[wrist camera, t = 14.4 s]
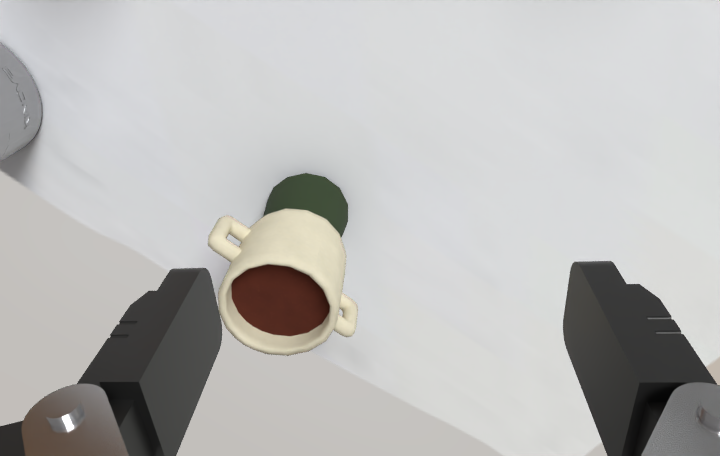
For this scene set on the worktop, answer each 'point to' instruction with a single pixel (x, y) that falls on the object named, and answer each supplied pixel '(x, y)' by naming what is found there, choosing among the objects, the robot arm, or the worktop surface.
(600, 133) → the worktop surface
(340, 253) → the character mug
